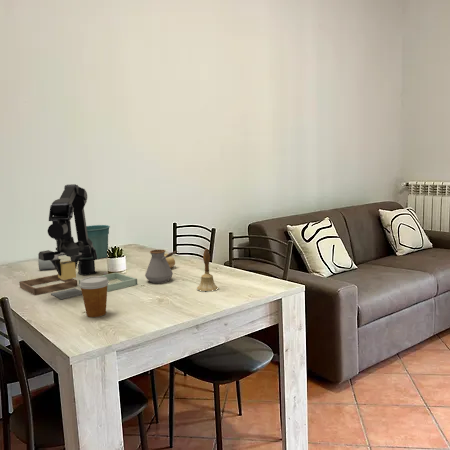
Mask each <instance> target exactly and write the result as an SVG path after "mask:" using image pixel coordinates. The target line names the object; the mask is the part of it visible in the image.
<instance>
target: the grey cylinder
mask: <svg viewBox="0 0 450 450" xmlns="http://www.w3.org/2000/svg"><path fill="white" fill-rule="evenodd" d="M37 257H38V256H37ZM37 260H38V261H37V262H38V263H37V265H38V270H39V271H45V270H54V269H55V270H56V268H55V267H54V265H53V263H52V262H51V261H50V260H47V261H43V260H40V259H39V257H38V259H37Z"/></svg>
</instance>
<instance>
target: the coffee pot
mask: <svg viewBox="0 0 450 450" xmlns="http://www.w3.org/2000/svg"><path fill="white" fill-rule="evenodd" d="M149 253H150V255H151V258H150V260H149V263H148V266H147V269H146V271H145V275H144V276H145V278H146V279H147V281H149V282H150V283H152V284H163V283H168V282H169V281H170V280H171V279H172V278H173V275H174V273H173V271H172V268H170V266H169V264H168V262H167V260H166V258H167V257H170V256H172V257H173V256H176V257H178V256H179V254H180V251H178V250H174V251H172V252H170V253H167V254H168V255H166V256H164V254H166V250H165V249H153V250H150V251H149ZM177 253H178V255H176V254H177Z"/></svg>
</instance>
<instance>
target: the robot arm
mask: <svg viewBox="0 0 450 450" xmlns="http://www.w3.org/2000/svg"><path fill="white" fill-rule="evenodd" d="M63 189H64V190H63V191H62V193H61V195H60V197H59V198H58V199H54V200H53V202H52V203H51V205H50V206H49V214H48V222H52V223H51V224H49V226H48V228H47V234H48V236H49V237H50V238H51V239H54V240H55V241H56V243H55V244H56V247H55V251H53V250H49V249H48V250H41V251H39V252H38V254H37V255H38V256H37V257H39V259H40V260H43V261H47V260H50V261H51V262H52V263H53V265H54V267H55V268H56V269H55V271H56V272H57V274H59V276H61V267H60V262H61V260H62V259H60V258H59V256H60V257H61V256H67V257H69V258H70V261H72V262H75V269H78V270H77V271H78V272H77V274H80V275H82V276H86V275H87V276H88V275H93V274H96V273H98V272H97V271H96V263H95V261H97V260H98V259H97V253H96V250H95V248H94V247H93V243H92V241H91V240H90V239H89V238H88V234H87V227H86V226H87V220H86V214H85V206H86V204H87V201H88V192H87V190H86V189H85V188H83V187H80V186H79V185H78V184H75V183H74V184H66V185H65V184H64V188H63ZM73 217H74V218H73ZM72 218H73V219H74V223H75V231H76V237H77V241H76V242H75V240H74V236H73V234H72V223H71V220H72Z"/></svg>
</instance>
